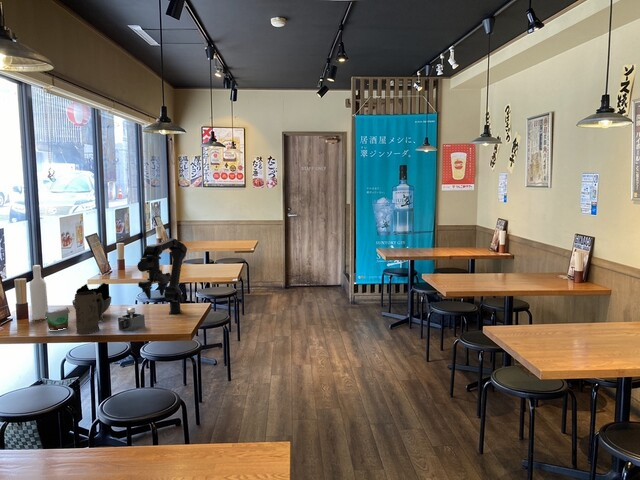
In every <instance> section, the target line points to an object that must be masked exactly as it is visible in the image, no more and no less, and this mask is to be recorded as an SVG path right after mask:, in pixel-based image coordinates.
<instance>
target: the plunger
mask: <svg viewBox="0 0 640 480" xmlns="http://www.w3.org/2000/svg"><path fill="white" fill-rule="evenodd" d="M134 313H136V308H135V307H128V308H126V314H130V318H133V316H132V314H134Z"/></svg>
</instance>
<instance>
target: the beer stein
mask: <svg viewBox="0 0 640 480" xmlns="http://www.w3.org/2000/svg"><path fill="white" fill-rule="evenodd" d="M74 299H75V303H76V307H75V308H74V310H75V324H76V330H75V331H76V334H78V333H79V334H80V335H88V333H90V334H93V332H94V333H97V332H99V331H100V326H99V325H100V322H103V321H104V318H103V314H104V313H103V310H104V301H103V298H102V293H99V294H98V295H96V293H95V292H81V293H75V294H74ZM96 299H99V302H100V310H99V315H98V305H97V300H96ZM102 313H103V314H102ZM79 334H78V335H79Z"/></svg>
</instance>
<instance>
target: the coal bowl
mask: <svg viewBox="0 0 640 480" xmlns="http://www.w3.org/2000/svg"><path fill="white" fill-rule="evenodd" d="M88 285H89V284H87V283H85V284H84V285H82V286H80V287H79V288H77V290H76V293H81V292H95V293H96V295H98V294H99V293H102V298H103V301H104V310H103V313H102V315H103V314H104V313H106V311H108V309H109V308H110V306H111V303H112V296H111V295H109V285H108V284H107V283H105V282H103V283H102V284H100V285H99V286H97V287H96V288H89V286H88ZM76 293H75V294H76ZM96 300H97V305H98V315H99V310H100V302H99V299H96ZM71 303H72V306H73V308H74V309H75V307H76V303H75V298H74V299H72V302H71Z"/></svg>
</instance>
